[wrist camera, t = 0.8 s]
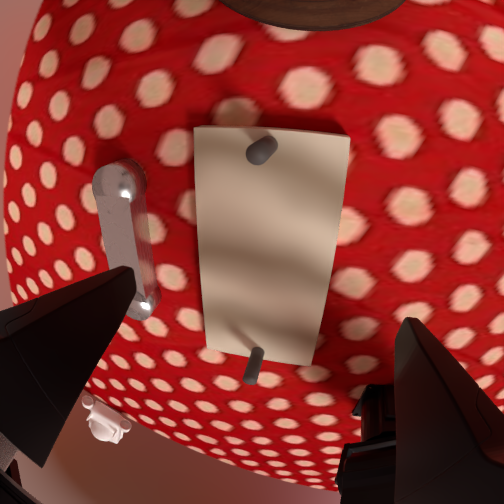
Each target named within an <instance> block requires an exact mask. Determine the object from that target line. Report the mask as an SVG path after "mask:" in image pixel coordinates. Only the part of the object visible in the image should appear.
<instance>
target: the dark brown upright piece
mask: <svg viewBox="0 0 504 504" xmlns="http://www.w3.org/2000/svg"><path fill="white" fill-rule="evenodd" d="M219 1H220V2H222V3H223V4H225V5H226V6H227V7H229V8H230V9H232V10H234V11H235V12H237V13H239V14H241V15H243V16H245V17H248V18H250V19H253V20H255V21H258V22H261V23H265V24H268V25H272V26H276V27H281V28H286V29H293V30H302V31H332V30H341V29H348V28H353V27H358V26H361V25H365V24H368V23H371V22H373V21H376V20H378V19H381V18H383V17H384V16H386V15H388V14H390V13H391V12H393V11H394V10H396V9H397V8H398V7H399V6H400V5H402V4H403V3H404V2H405V0H219Z"/></svg>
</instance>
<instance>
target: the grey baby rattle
mask: <svg viewBox="0 0 504 504" xmlns="http://www.w3.org/2000/svg"><path fill="white" fill-rule="evenodd" d="M146 186H147V184H146V177H145V174H144V172H143V170H142V169H141V167H140V166H139V165H138V164H137V163H136V162H134V161H133V160H130V159H120V160H118V161H115V162H113V163H110V164H108V165H105V166H103V167H101V168H99V169H98V170H97V171H96V173H95V175H94V177H93V181H92V190H93V194H94V197H95V199H96V202H97V209H98V214H99V220H100V225H101V231H102V236H103V241H104V246H105V250H106V255H107V259H108V264H109V268H110V270H111V269H113V268H116V267H119V266H122V265H124V266H128V267H132V268H133V270H134V273H135V279H136V285H137V292H136V294H135V297H134V298H133V300H132V302H131V305H130V307H129V309H128V311H127V313H126V315H128V316H129V317H131V318H133V319H136V320H146V319H147V318H148V317H149V316H150V315H151V313H152V312H153V311H154V309H155V308H156V307H157V305H158V304H159V303H160V301H161V291H160V289H159V287H158V285H157V279H156V273H155V267H154V261H153V254H152V247H151V240H150V233H149V225H148V217H147V208H146V199H145V192H146Z"/></svg>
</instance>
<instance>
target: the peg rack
mask: <svg viewBox="0 0 504 504" xmlns="http://www.w3.org/2000/svg"><path fill="white" fill-rule="evenodd" d="M349 146H350V137H349V136H348V135H343V134H335V133H327V132H318V131H309V130H298V129H286V128H272V127H254V126H216V125H202V126H198V127H194V165H195V193H196V215H197V233H198V249H199V263H200V277H201V289H202V301H203V312H204V322H205V332H206V342H207V349H212V350H217V351H221V352H226V353H231V354H236V355H241V356H247V357H249V361H248V364H247V367H246V370H245V373H244V376H243V381H244V382H245V383H246V384H250V385H253V384H256V382H257V379H258V375H259V372H260V368H261V364H262V361H263V359H264V360H270V361H276V362H282V363H289V364H295V365H302V366H310V367H311V363H312V359H313V355H314V351H315V346H316V342H317V338H318V334H319V329H320V325H321V320H322V316H323V311H324V306H325V302H326V297H327V292H328V287H329V282H330V277H331V271H332V266H333V260H334V255H335V249H336V243H337V237H338V231H339V224H340V218H341V211H342V204H343V197H344V189H345V182H346V173H347V165H348V156H349Z"/></svg>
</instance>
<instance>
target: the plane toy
mask: <svg viewBox="0 0 504 504" xmlns="http://www.w3.org/2000/svg"><path fill="white" fill-rule="evenodd" d="M93 403H94V400H93V398H92V397H91V396H88V395H85V396H83V397H82V405H83V406H84V407H85V408H87V409H89V410H90V411H91V412H90V414H89V416H88V418H87V421H88V420H89V427H90V428H91V431H92V433H93V435H94V436H95V437H96V438H97V439H99V440H102V441H111V442H113V443H116V444H117V443H118V442H119V440H120V439H121V438H122V436H123V432H128V431H129V430H130V429H131V423H130V421H128V420H126V419H125V418H124V417H122V416H121V415H120V414H119V413H117V412H116V411H114V410H113V409H111V408H109V407H108V406H106V405H105V404H103V403H101V402H99V401H97V400H96V401H95V404H93Z"/></svg>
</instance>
